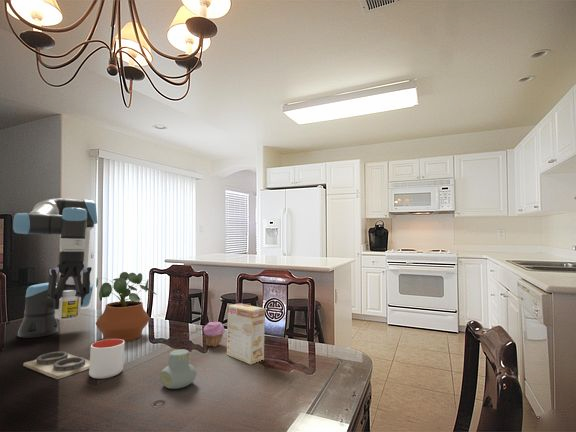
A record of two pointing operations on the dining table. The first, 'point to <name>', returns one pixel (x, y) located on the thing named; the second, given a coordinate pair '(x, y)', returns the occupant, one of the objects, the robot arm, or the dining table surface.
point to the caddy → (58, 364)
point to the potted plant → (123, 309)
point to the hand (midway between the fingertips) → (67, 316)
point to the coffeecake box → (246, 332)
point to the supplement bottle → (69, 305)
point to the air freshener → (178, 370)
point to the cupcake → (213, 333)
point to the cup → (106, 358)
